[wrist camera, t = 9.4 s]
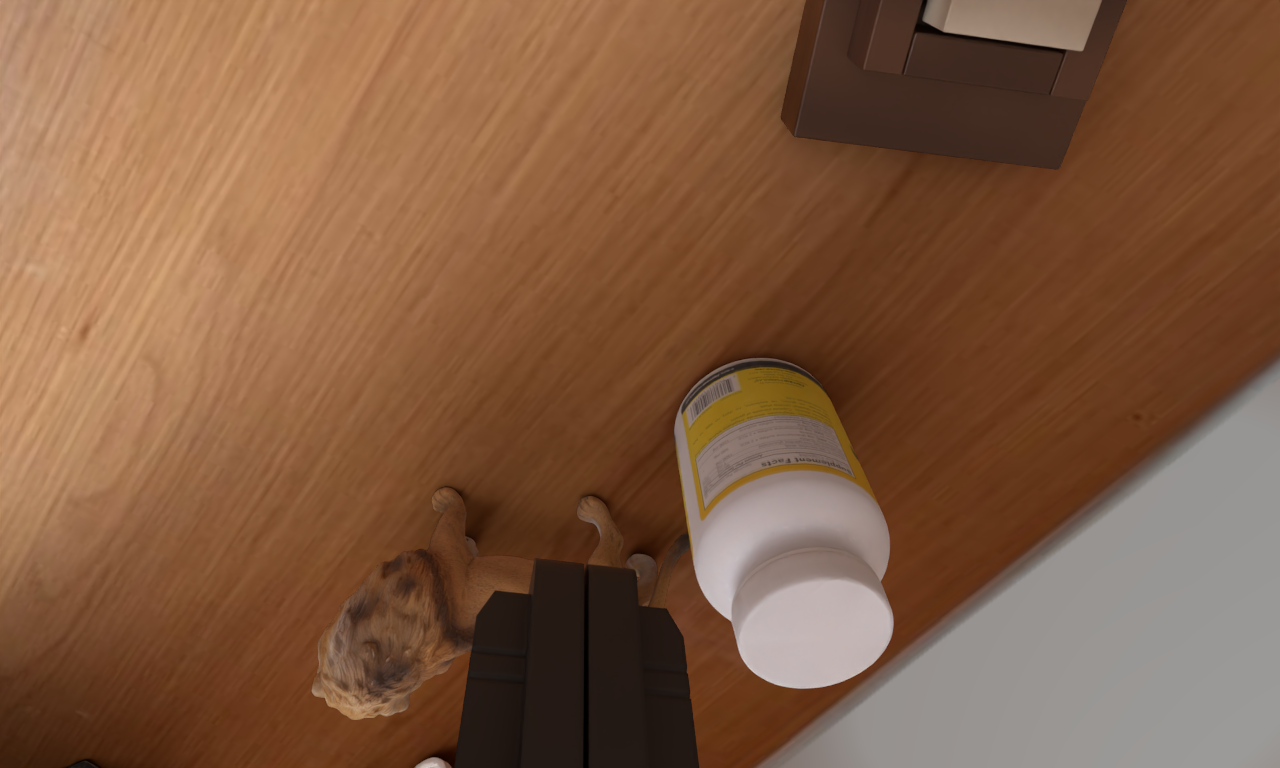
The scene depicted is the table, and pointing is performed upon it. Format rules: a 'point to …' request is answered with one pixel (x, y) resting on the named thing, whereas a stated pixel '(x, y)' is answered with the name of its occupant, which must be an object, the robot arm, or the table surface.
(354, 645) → the lion figurine
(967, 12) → the key
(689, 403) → the pill bottle
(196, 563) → the table surface
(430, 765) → the binoculars
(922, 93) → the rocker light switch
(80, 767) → the box
